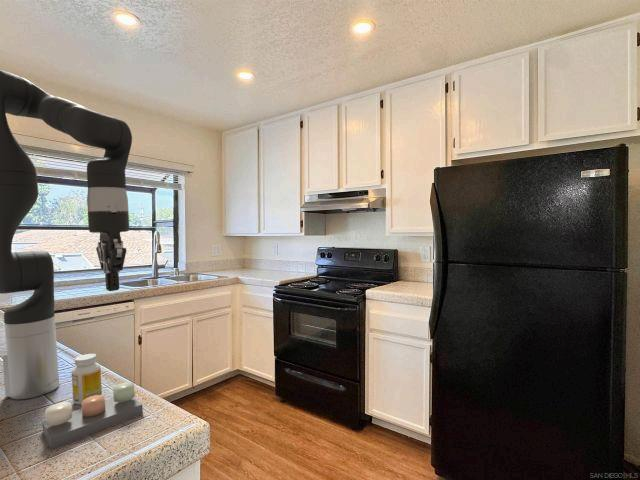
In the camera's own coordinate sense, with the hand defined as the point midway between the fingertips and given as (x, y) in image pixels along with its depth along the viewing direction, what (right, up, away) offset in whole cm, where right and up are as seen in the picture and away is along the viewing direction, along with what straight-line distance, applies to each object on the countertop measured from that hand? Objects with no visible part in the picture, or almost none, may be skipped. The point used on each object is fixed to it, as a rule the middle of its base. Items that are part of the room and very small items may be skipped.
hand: (112, 290), depth 77 cm
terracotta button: (+1, -23, -8) cm, 24 cm away
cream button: (-3, -22, -12) cm, 25 cm away
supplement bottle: (-7, -25, +3) cm, 26 cm away
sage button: (+5, -22, -4) cm, 22 cm away
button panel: (+1, -25, -7) cm, 26 cm away
